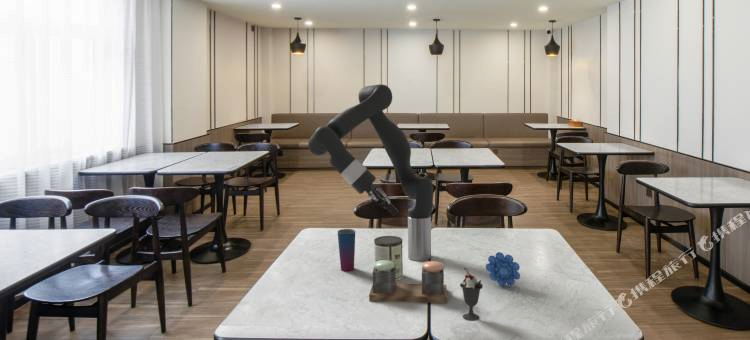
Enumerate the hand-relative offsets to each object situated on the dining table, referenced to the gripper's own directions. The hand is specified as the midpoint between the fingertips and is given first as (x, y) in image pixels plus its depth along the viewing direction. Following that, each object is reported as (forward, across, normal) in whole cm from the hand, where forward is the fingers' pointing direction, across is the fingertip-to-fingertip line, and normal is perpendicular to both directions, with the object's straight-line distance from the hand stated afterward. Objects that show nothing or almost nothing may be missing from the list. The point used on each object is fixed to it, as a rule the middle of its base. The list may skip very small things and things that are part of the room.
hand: (396, 213), depth 170 cm
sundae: (+36, -15, +3) cm, 39 cm away
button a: (+14, 0, +20) cm, 25 cm away
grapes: (+45, +10, -6) cm, 46 cm away
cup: (+5, +24, +34) cm, 43 cm away
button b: (+26, 0, +9) cm, 27 cm away
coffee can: (+17, +17, +23) cm, 33 cm away
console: (+22, 0, +17) cm, 28 cm away
